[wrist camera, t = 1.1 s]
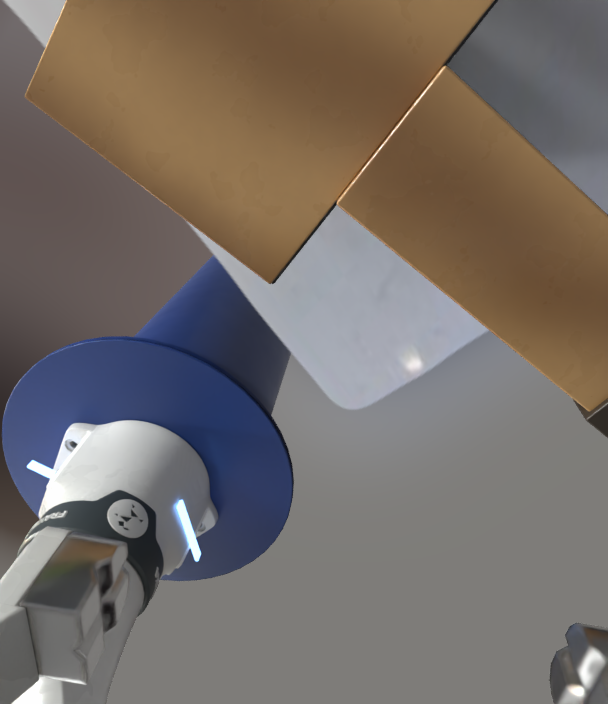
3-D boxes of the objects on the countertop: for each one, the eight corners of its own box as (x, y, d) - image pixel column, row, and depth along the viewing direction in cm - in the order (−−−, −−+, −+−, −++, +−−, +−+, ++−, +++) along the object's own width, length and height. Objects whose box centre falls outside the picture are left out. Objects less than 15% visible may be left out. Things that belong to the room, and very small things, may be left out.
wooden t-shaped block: (506, 422, 20) (534, 493, 17) (87, 95, 17) (11, 97, 13) (757, 217, 16) (866, 253, 13) (269, -273, 13) (227, -414, 9)
